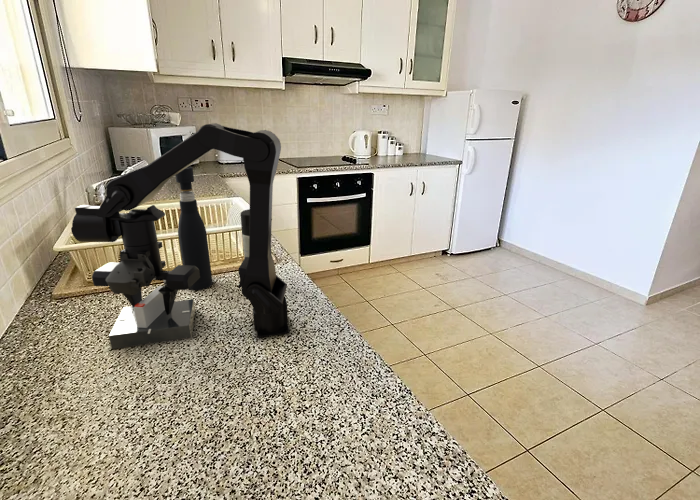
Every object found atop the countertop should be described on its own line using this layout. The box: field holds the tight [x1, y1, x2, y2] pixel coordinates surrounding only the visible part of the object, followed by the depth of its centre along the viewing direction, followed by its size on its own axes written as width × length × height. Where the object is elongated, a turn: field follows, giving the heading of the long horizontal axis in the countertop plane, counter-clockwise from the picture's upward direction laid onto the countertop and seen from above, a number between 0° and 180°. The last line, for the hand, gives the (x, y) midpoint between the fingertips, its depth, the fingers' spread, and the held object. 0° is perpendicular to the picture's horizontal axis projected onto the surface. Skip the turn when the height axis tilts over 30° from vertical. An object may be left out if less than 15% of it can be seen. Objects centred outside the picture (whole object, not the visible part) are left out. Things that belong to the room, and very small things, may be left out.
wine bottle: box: [174, 166, 214, 291], centre depth 91 cm, size 6×6×30 cm
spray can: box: [240, 208, 273, 258], centre depth 92 cm, size 7×7×20 cm
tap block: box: [108, 298, 196, 350], centre depth 77 cm, size 14×13×3 cm
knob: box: [134, 285, 165, 328], centre depth 76 cm, size 9×2×5 cm, turn 177°
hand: (154, 313), depth 76 cm, fingers open, 6 cm apart
